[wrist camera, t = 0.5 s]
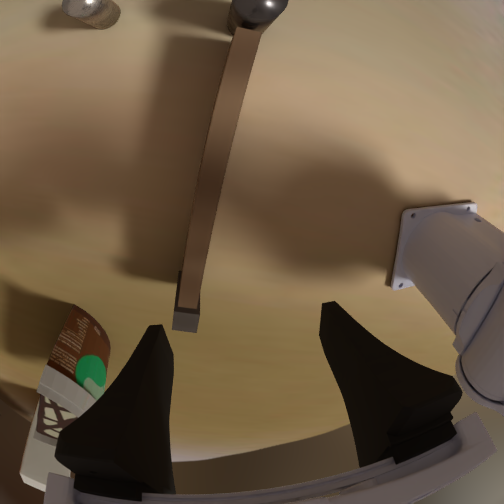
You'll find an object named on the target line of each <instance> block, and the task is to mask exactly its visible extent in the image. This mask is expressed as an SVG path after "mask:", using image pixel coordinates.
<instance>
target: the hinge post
mask: <svg viewBox="0 0 504 504" xmlns="http://www.w3.org/2000/svg"><path fill="white" fill-rule="evenodd" d="M287 4H288V0H232V3H231V7H230V11H229V16H228V20H227V25H228V29H229V30H230V32H231V33H232V34H233V35H234V33H235V31H236V28H237V27H240V28H245V29H249V30H253V31H257V32H261V33H262V34H263V32H264V31H265V30H266V29H267V28H268V27H269V26H270V25H271V24H272V23H273V21H274V20H275V19H276V18H277V17H278V16H279V15H280V14H281V13H282V12H283V11H284V10H285V8H286V6H287Z"/></svg>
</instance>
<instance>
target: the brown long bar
mask: <svg viewBox="0 0 504 504" xmlns="http://www.w3.org/2000/svg"><path fill="white" fill-rule="evenodd" d="M261 35H262V33H261V32H257V31H253V30H249V29H245V28H240V27H237V28H236V31H235V33H234V36H233V38H232V41H231V44H230V48H229V51H228V55H227V58H226V62H225V66H224V69H223V73H222V77H221V80H220V84H219V88H218V92H217V96H216V100H215V104H214V108H213V112H212V116H211V121H210V125H209V129H208V134H207V138H206V142H205V147H204V152H203V156H202V161H201V166H200V171H199V175H198V180H197V185H196V191H195V196H194V201H193V206H192V212H191V218H190V223H189V229H188V235H187V241H186V247H185V253H184V260H183V266H182V271H179V275H178V282H177V290H176V298H175V307H174V316H173V325H172V330H178V331H185V332H193V333H197V327H198V322H199V317H200V289H201V284H202V279H203V274H204V268H205V263H206V258H207V254H208V249H209V244H210V239H211V234H212V229H213V225H214V220H215V215H216V211H217V206H218V202H219V197H220V193H221V189H222V184H223V180H224V175H225V171H226V167H227V163H228V159H229V154H230V150H231V146H232V142H233V138H234V134H235V130H236V126H237V122H238V118H239V114H240V110H241V107H242V103H243V99H244V95H245V92H246V88H247V84H248V81H249V77H250V73H251V70H252V66H253V63H254V59H255V55H256V52H257V49H258V45H259V42H260V38H261Z"/></svg>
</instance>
